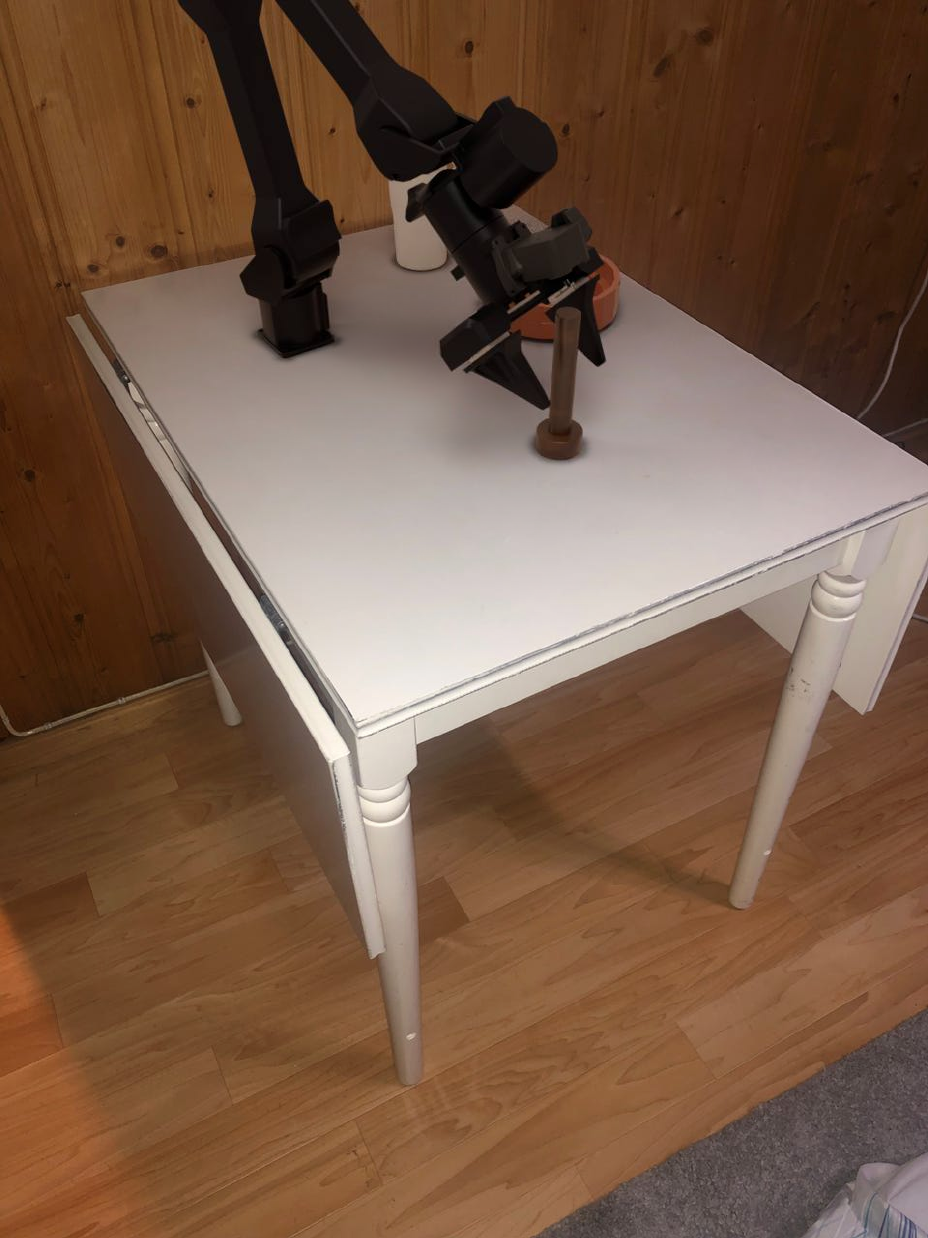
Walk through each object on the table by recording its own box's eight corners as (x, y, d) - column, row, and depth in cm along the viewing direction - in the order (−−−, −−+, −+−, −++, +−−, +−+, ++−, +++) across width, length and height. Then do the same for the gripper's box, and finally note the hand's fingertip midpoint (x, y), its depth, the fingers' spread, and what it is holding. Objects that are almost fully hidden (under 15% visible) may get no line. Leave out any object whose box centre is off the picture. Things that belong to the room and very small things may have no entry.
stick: (554, 465, 96) (564, 329, 86) (526, 443, 98) (532, 309, 88) (590, 450, 97) (604, 315, 88) (562, 428, 100) (572, 295, 90)
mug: (459, 262, 126) (458, 163, 118) (413, 277, 123) (409, 176, 115) (415, 234, 132) (412, 137, 124) (371, 247, 129) (364, 149, 121)
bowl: (536, 358, 110) (538, 320, 106) (456, 302, 119) (456, 265, 116) (643, 318, 116) (648, 281, 113) (559, 268, 125) (562, 232, 122)
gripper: (465, 223, 78) (577, 395, 80) (594, 151, 88) (689, 305, 91) (392, 292, 87) (495, 444, 89) (517, 218, 97) (606, 357, 100)
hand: (575, 385), depth 92 cm, fingers open, 9 cm apart
